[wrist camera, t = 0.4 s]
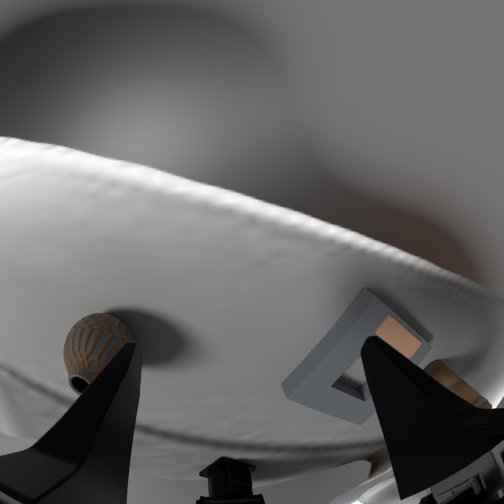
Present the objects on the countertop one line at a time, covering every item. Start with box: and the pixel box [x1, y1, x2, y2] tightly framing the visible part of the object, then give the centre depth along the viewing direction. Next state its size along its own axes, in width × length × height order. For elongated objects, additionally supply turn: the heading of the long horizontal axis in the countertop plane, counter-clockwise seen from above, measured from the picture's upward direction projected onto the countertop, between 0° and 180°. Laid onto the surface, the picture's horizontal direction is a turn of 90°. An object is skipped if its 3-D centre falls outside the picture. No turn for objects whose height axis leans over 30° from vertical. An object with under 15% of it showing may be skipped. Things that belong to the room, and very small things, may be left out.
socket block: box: [282, 288, 432, 425], centre depth 28 cm, size 14×14×3 cm
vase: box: [64, 313, 135, 395], centre depth 20 cm, size 7×7×9 cm
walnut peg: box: [423, 360, 492, 409], centre depth 27 cm, size 5×5×13 cm
